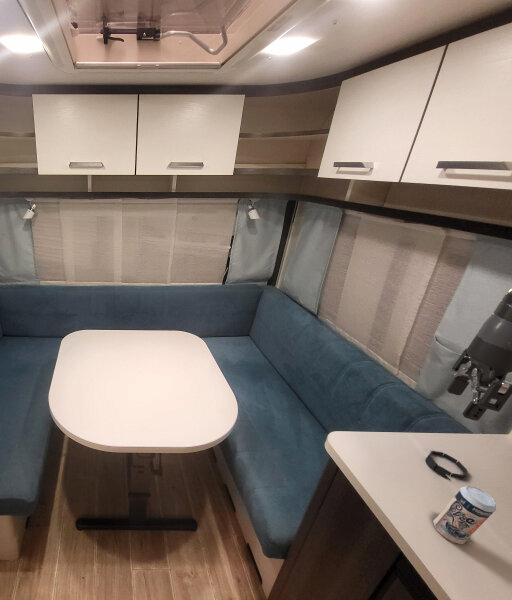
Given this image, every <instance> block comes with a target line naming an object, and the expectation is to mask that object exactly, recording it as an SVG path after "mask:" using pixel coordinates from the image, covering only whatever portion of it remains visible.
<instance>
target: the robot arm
mask: <svg viewBox="0 0 512 600" xmlns="http://www.w3.org/2000/svg"><path fill="white" fill-rule="evenodd" d="M451 370H452V371H453V372H454V373H453V377H454V378H453V379H452V381H451V382H450V383H449V385H448V387H447V388H446V391H447V392H448V393H449V394H452V395H455V396H461V395H463V393H464V392H465V390H466V389H467V387H468V386H469V385H470V382H471V386H470V390H471V391H472V393H473V394H472V400H470V402H469V404H468V405H467V406H466V408H465V409H464V410H463V412H462V416H463V417H464V418H465V419H469V420H471V421H475V422H477V421H479V420H480V419H481V418H482V417H483V415H484V414H485V412H486V411H487V410H491V411H493V412H497V413H499V412H500V411H501V410H502V409H503V407H504V406H505V404H506V403H507V401H508V400H509V399H510V397H511V396H512V383H509V382H506V379H507V376H508V374H509V373H512V288H510V289H509V290H508V291H507V292H506V293H505V294H504V296H503V297H502V298H501V300H500V301H499V303H498V304H497V306H496V308H495V309H494V311H493V312H492V313H491V315H490V316H489V317H488V318H487V319H486V320H485V321H484V322H483V323H482V325H481V327H480V328H479V330H478V331H477V333H476V334H475V335H474V338H473V339H472V340H471V342H470V343H469V345H468V346H467V347H466V348H464V350H463V352H462V353H461V355H460V356H459V357H458V358H457V360H456V361H455V363H454V364H453V365H452V367H451Z"/></svg>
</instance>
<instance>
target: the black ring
mask: <svg viewBox="0 0 512 600" xmlns="http://www.w3.org/2000/svg"><path fill="white" fill-rule="evenodd" d="M432 455H434V456H438V457H442V458H445V459H446V460H448V461H450V462H452V463H453V464H455V465H456V466H457V467H458V468H459V469H460V470H461V471H462V473H463V474H459V473H454V472H453V473H452V472H451V471H450V470H447V469H446V468H444V467H443V466H441V465H438V463H437V462H436V460H434V458H433V457H432ZM425 463H426V465H427V466H428V468H430V470H432V471H433V472H434V474H436V475H438V476H440V477H442V478H443V479H446V480H448V481H451V478H455V479H461V480H462V479H463V480H464V479H465V478H466V476H467V474H468V472H469V471H468V469H467V468H466V467H465V466H464V465H463V464H462V463H461V461H459V460H458V459H456V458H454V457H453V456H450V455H449V454H447V453H444V452H442V451H436V450H432V451H430V453H429V454H428V455H427V457H426V458H425ZM449 477H451V478H449Z"/></svg>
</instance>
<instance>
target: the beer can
mask: <svg viewBox="0 0 512 600" xmlns="http://www.w3.org/2000/svg"><path fill="white" fill-rule="evenodd" d="M496 511H497V503H496V501H495V500H494V498H493V497H492V496H491V495H490V494H488V493H487V491H484V490H482V489H480V488H478V487H477V486H473V485H472V486H471V485H467V486H462V487H460V489H459V490H458V492H457V493H455V495H454V497H453V498H452V499H451V500H450V501H449V502H448V504H447V505H446V506H445V507H444V508H443V509H442V510H441V512H440V513H439V514H438V515H437V516H436V518H433V520H432V521H433V526H434V527H435V529H436V530H437V531H438V533H439V534H441V535H442V536H443V537H444V538H446V539H447V540H448V541H450V542H452V543H455V544H460V545H464V544H465V543H466V542H467V540H469V538H470V537H471V536H472V535H473V534H474V533H475V532H476V531H477V530H478V529H479V528H480V527H481V526H482V525H483V524H484V523H485V522H486V521H487V520H488V519H489V518H490V517H491V516H492V515H493V514H494V513H495V512H496Z"/></svg>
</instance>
